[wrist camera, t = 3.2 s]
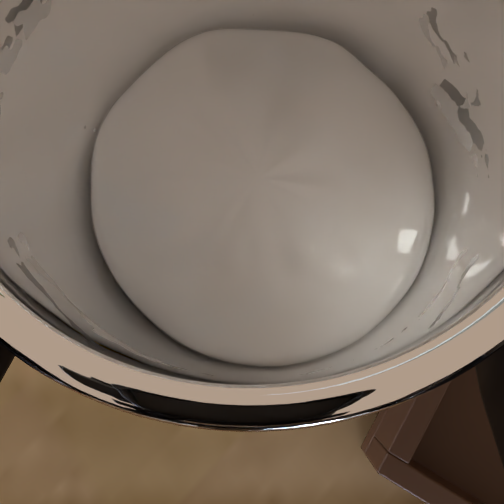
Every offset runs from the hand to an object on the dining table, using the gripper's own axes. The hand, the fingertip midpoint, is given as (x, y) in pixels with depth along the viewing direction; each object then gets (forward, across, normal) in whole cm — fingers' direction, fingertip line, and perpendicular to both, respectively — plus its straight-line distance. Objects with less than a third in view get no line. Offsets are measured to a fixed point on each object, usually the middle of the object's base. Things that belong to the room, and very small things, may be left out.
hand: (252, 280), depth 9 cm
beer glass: (+8, 0, +6) cm, 10 cm away
